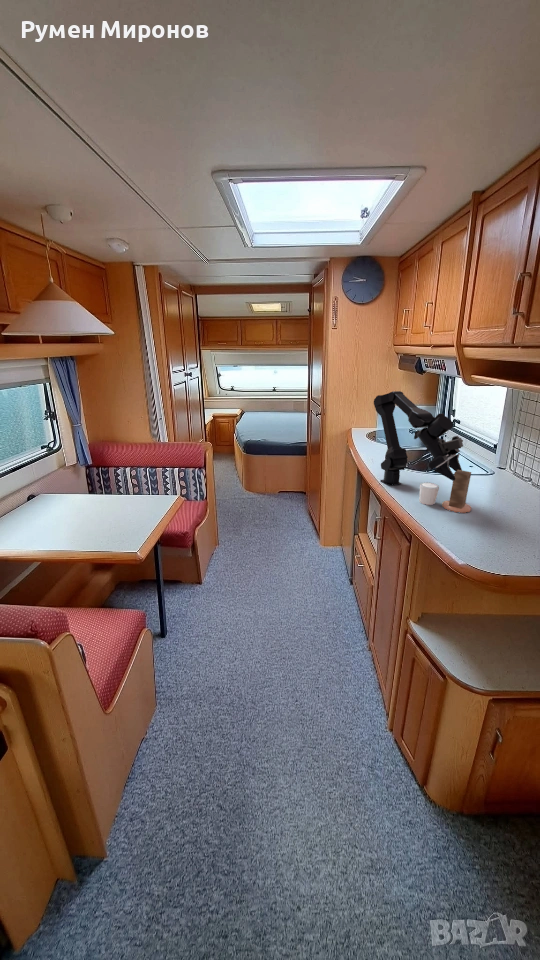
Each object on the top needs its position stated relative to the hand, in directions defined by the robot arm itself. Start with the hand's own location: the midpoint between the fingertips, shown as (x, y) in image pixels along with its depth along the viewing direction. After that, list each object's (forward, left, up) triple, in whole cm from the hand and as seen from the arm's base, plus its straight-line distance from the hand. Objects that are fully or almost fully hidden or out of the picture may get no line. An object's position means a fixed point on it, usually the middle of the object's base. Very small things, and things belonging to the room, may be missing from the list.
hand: (458, 476), depth 145 cm
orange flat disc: (+1, +1, -12) cm, 12 cm away
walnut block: (+1, +1, -11) cm, 11 cm away
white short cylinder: (-6, -6, -12) cm, 15 cm away
